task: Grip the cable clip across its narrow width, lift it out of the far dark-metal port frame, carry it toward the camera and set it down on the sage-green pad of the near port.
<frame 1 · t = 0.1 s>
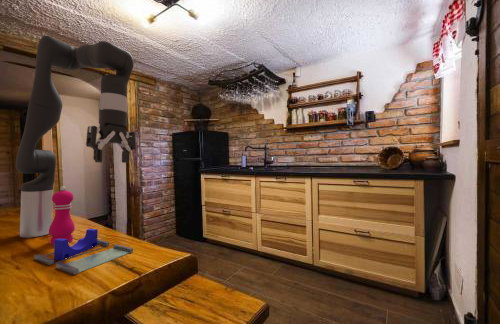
hand: (112, 162, 71), 29 cm above the table, fingers open, 8 cm apart
pepper mill: (61, 242, 82), on the table
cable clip: (75, 253, 73), on the table
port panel: (86, 255, 70), on the table
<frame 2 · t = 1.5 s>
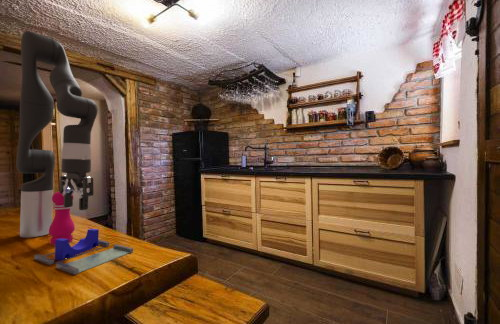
hand: (75, 208, 73), 14 cm above the table, fingers open, 8 cm apart
nothing on the table moved.
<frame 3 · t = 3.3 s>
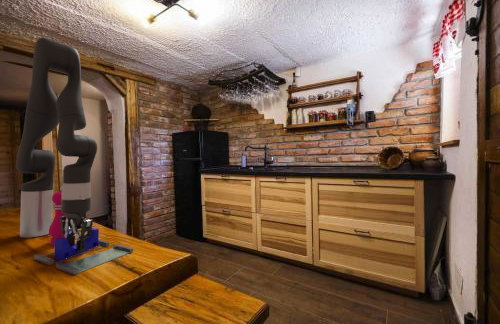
hand: (75, 249, 73), 1 cm above the table, fingers closed on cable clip, 5 cm apart
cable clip: (76, 252, 73), on the table, touching gripper
everything else where it was.
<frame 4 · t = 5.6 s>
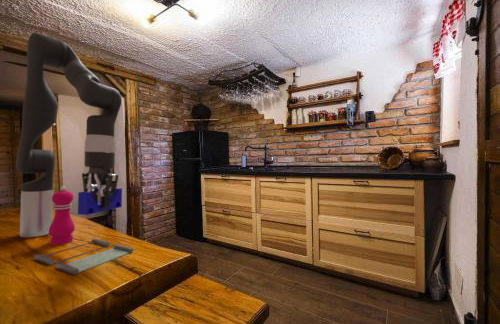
hand: (98, 207, 68), 16 cm above the table, fingers closed on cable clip, 5 cm apart
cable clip: (99, 210, 68), point 15 cm above the table, touching gripper
everything else where it was.
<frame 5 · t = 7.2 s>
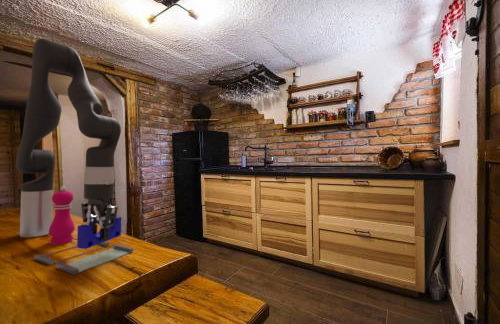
hand: (98, 238, 68), 6 cm above the table, fingers closed on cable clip, 5 cm apart
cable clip: (98, 241, 68), point 5 cm above the table, touching gripper
everything else where it was.
when the fingers open (2 cm above the table, at t = 8.4 s): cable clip drops 1 cm, resting on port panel.
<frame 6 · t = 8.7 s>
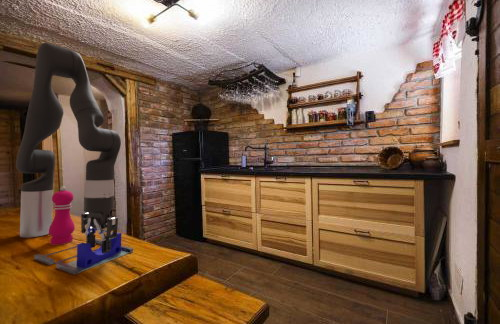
hand: (98, 250, 68), 3 cm above the table, fingers open, 7 cm apart
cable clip: (98, 258, 68), resting on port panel
everything else where it was.
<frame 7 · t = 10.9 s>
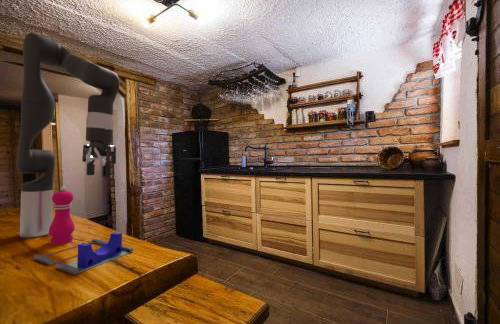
hand: (98, 176, 76), 24 cm above the table, fingers open, 8 cm apart
nothing on the table moved.
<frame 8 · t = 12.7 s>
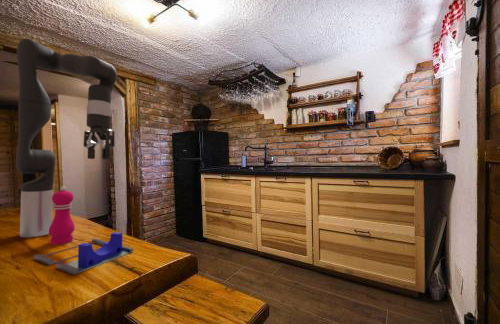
hand: (98, 159, 83), 30 cm above the table, fingers open, 8 cm apart
nothing on the table moved.
at the end: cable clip inside the target area on the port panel (0.4 cm from its centre), point 0.1 cm above the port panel's base; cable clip tilted 0°; the gripper is holding nothing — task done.
